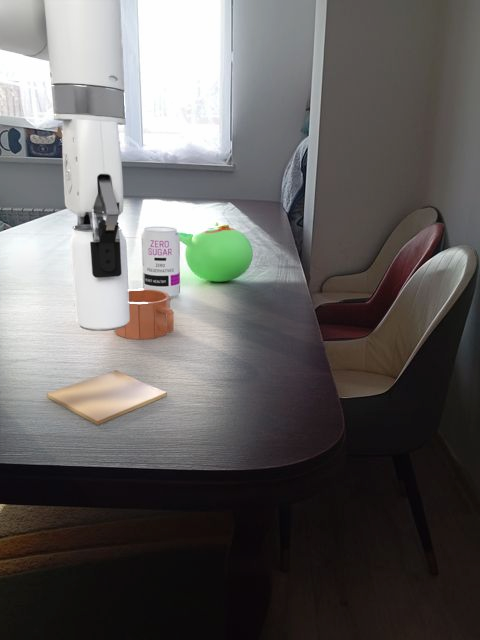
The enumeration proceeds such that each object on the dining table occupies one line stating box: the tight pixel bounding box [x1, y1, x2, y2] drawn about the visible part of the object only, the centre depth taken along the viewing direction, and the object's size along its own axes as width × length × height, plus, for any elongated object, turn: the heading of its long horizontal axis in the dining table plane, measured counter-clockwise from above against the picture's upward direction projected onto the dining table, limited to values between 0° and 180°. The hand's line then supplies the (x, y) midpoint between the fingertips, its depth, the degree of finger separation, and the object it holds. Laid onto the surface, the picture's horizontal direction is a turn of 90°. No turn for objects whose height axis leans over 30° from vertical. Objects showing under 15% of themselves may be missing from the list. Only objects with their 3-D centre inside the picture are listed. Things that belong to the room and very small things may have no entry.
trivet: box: [46, 369, 168, 426], centre depth 68 cm, size 11×11×1 cm
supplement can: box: [140, 226, 181, 300], centre depth 115 cm, size 8×8×15 cm
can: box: [69, 224, 130, 332], centre depth 63 cm, size 6×6×12 cm
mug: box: [113, 288, 175, 340], centre depth 92 cm, size 13×10×6 cm
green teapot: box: [177, 221, 254, 283], centre depth 132 cm, size 18×17×15 cm
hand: (99, 268), depth 62 cm, fingers closed on can, 6 cm apart
